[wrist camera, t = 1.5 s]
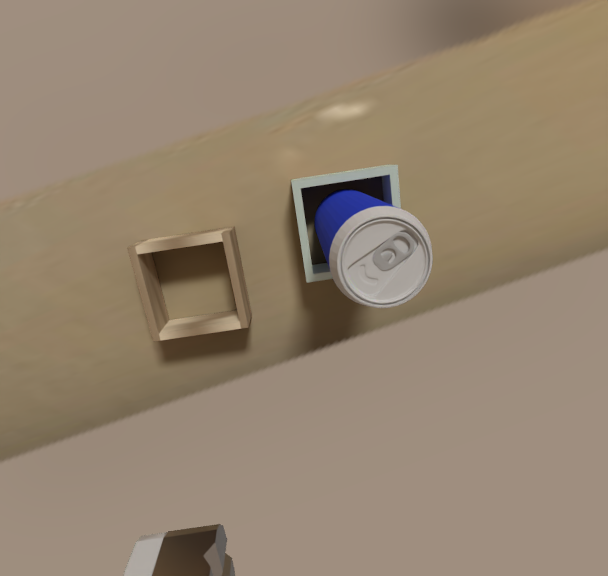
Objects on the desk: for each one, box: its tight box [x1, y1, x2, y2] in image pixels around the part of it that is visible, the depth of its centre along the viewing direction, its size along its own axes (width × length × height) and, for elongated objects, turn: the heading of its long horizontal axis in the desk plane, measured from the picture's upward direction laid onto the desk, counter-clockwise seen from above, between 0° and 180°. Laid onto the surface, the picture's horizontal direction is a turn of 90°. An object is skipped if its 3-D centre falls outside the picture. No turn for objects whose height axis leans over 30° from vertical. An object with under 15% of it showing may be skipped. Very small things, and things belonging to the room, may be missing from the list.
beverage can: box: [315, 189, 432, 308], centre depth 27 cm, size 5×5×15 cm
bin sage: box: [291, 165, 401, 283], centre depth 32 cm, size 8×8×3 cm
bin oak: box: [127, 227, 252, 342], centre depth 33 cm, size 8×8×3 cm
